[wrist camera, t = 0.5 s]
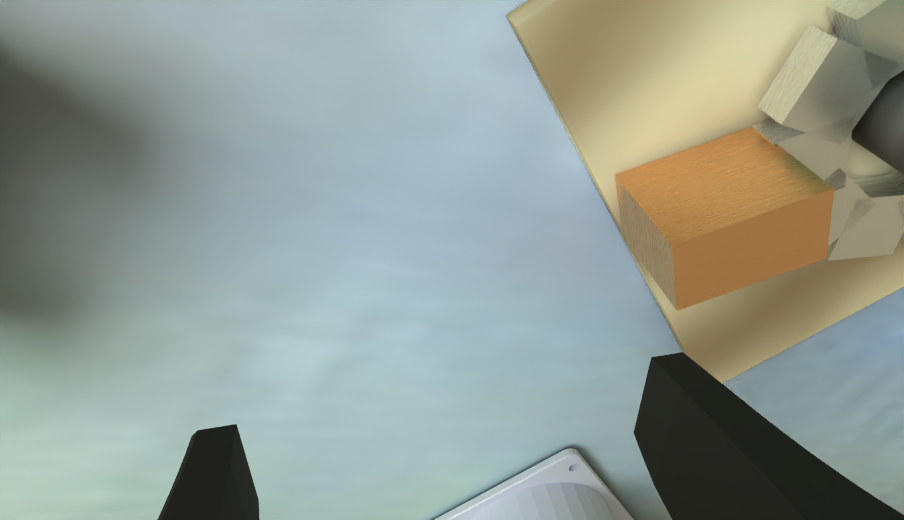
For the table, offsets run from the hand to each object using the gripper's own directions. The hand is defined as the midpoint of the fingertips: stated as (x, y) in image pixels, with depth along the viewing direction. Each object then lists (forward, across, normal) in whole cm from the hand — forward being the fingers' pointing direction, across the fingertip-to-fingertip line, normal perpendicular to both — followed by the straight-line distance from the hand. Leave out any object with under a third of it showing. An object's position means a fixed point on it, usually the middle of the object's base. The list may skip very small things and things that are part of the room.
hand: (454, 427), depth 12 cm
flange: (+9, -14, 0) cm, 16 cm away
